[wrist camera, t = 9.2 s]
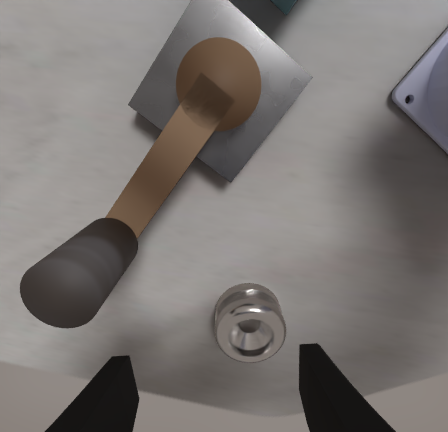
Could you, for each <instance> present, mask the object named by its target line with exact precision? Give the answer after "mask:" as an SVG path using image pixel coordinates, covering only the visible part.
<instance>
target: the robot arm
mask: <svg viewBox="0 0 448 432" xmlns="http://www.w3.org/2000/svg"><path fill="white" fill-rule="evenodd" d="M406 96H409V98H410V101H409V103H408V104H406V102H405V98H406ZM392 100H393V101H394V102H395V103H396V104H397V105H398V106H399V107H400V108H401V109H402V110H403V111H404V112H405V113H406V114H407V115H408V116H409V117H410V118H411V119H412V120H413V121H414V122H415V123H416V124H417V125H418V126H419V127H421V128H422V129H423V130H424V131H425V132H426V133H427V134H428V135H429V136H430V137H431V138H432V139H433V140H434V141H435V142H436V143H437V144H438V145H439V146H440V147H441V148H442V149H443V150H444V151H445V152H446V153H447V154H448V28H447V29H446V30H445V31H444V32H443V34H442V35H441V36H440V37H439V38H438V39H437V41H436V42H435V43H434V44H433V45H432V46H431V47H430V49H429V50H428V51H427V52H426V53H425V54H424V55H423V57H422V58H421V59H420V60H419V61H418V62H417V64H416V65H415V66H414V67H413V68H412V69H411V70H410V72H409V73H408V74H407V75H406V76H405V77H404V78H403V80H402V81H401V82H400V83H399V84H398V85H397V87H396V88H395V89H394V90H393V92H392ZM299 391H300V395H301V400H302V404H303V408H304V412H305V417H306V421H307V424H308V427H309V430H310V432H396V431H395V430H394V429H393V428H392V427H391V426H390V425H389V424H388V423H387V422H386V421H385V420H384V419H383V418H382V417H381V416H380V415H379V414H378V413H377V412H376V411H375V410H374V409H373V408H372V407H371V405H370V404H369V403H368V402H367V401H366V400H365V399H364V398H363V397H362V395H361V394H360V393H359V392H358V391H357V390H356V389H355V388H354V387H353V385H352V384H351V383H350V382H349V381H348V380H347V378H346V377H345V376H344V375H343V374H342V372H341V371H340V370H339V369H338V368H337V366H336V365H335V364H334V363H333V362H332V360H331V359H330V358H329V357H328V355H327V354H326V353H325V351H324V350H323V349H322V348H321V346H320V345H318V344H317V343H316V344H301V345H300V353H299ZM138 403H139V395H138V391H137V387H136V382H135V378H134V374H133V369H132V365H131V361H130V356H113V357H111V358H110V360H109V361H108V362H107V363H106V364H105V365H104V366H103V367H102V369H101V370H100V371H99V372H98V373H97V374H96V375H95V377H94V378H93V379H92V380H91V381H90V382H89V383H88V385H87V386H86V387H85V388H84V389H83V390H82V391H81V393H80V394H79V395H78V396H77V397H76V398H75V399H74V401H73V402H72V403H71V404H70V405H69V406H68V407H67V408H66V409H65V410H64V412H63V413H62V414H61V415H60V416H59V417H58V418H57V419H56V420H55V422H54V423H53V424H52V425H51V426H50V427H49V428H48V429H47V430H46V431H45V432H132V431H133V427H134V422H135V418H136V413H137V408H138Z"/></svg>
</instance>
